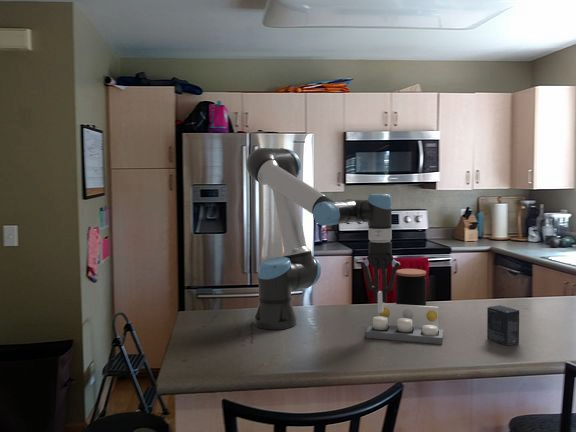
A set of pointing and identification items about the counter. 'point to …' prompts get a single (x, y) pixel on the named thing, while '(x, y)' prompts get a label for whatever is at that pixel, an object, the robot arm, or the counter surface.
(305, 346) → the counter surface
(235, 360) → the counter surface
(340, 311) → the counter surface
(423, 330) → the button right
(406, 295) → the coffee jar
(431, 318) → the pattern card
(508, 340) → the box
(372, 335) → the board
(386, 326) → the button left
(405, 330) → the button mid
